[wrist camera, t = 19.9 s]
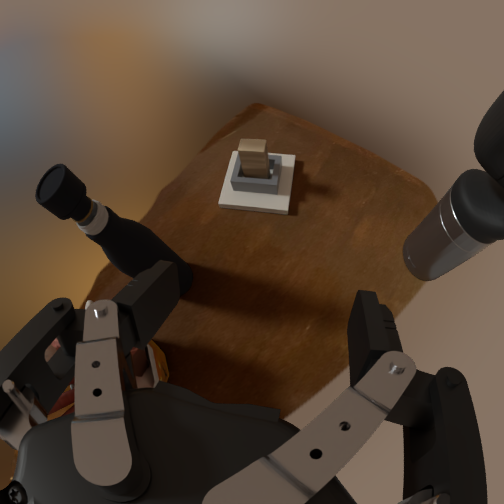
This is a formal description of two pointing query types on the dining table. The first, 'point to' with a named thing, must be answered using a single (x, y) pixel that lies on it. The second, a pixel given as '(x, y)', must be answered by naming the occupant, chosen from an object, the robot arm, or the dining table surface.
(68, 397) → the bucket of meat
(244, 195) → the socket base
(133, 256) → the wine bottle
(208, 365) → the dining table surface
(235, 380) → the dining table surface
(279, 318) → the dining table surface
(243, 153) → the slat
